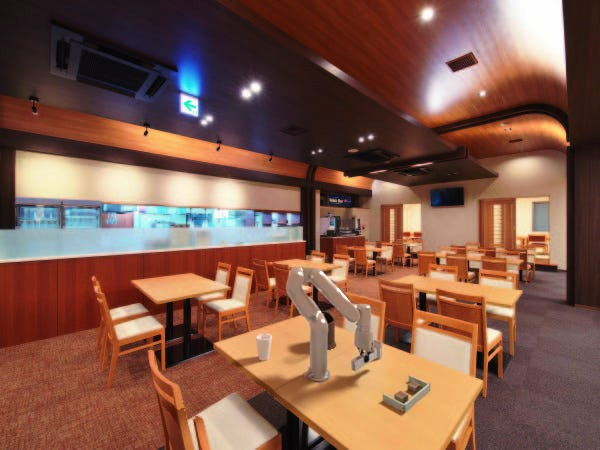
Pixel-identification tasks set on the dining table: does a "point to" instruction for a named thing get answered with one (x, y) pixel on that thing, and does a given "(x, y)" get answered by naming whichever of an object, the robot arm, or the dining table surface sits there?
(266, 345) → the foam cup
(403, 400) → the crust left
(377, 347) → the pale brown block
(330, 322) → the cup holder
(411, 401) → the grey u-shaped bracket
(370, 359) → the long grey plank
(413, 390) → the small brown block
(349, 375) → the dining table surface
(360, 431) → the dining table surface
